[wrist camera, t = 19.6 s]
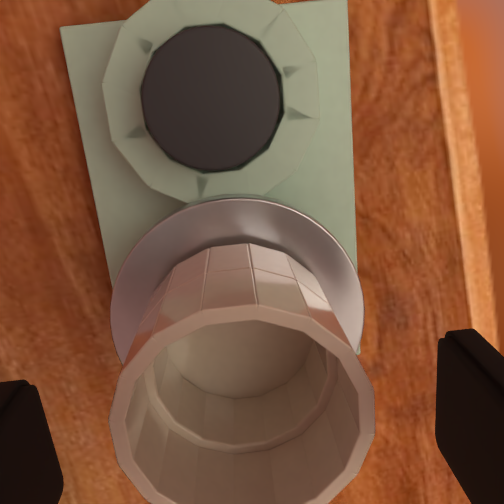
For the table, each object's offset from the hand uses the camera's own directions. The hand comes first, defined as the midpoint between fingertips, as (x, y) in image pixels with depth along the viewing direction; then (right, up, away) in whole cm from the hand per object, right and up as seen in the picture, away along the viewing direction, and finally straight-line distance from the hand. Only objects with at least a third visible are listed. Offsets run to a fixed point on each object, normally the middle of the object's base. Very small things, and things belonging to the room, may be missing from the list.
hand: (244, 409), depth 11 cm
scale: (-1, +6, +8) cm, 10 cm away
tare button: (-1, +9, +5) cm, 10 cm away
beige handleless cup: (0, +1, +6) cm, 6 cm away
